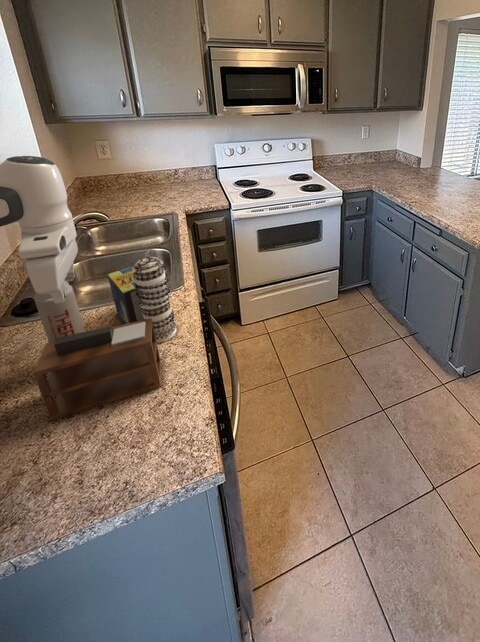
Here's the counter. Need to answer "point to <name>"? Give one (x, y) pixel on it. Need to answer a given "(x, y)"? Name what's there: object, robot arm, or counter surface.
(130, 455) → the counter surface
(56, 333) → the thermos bottle
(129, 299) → the protein box
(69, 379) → the box
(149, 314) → the decorative candle
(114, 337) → the spatula
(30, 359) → the counter surface
